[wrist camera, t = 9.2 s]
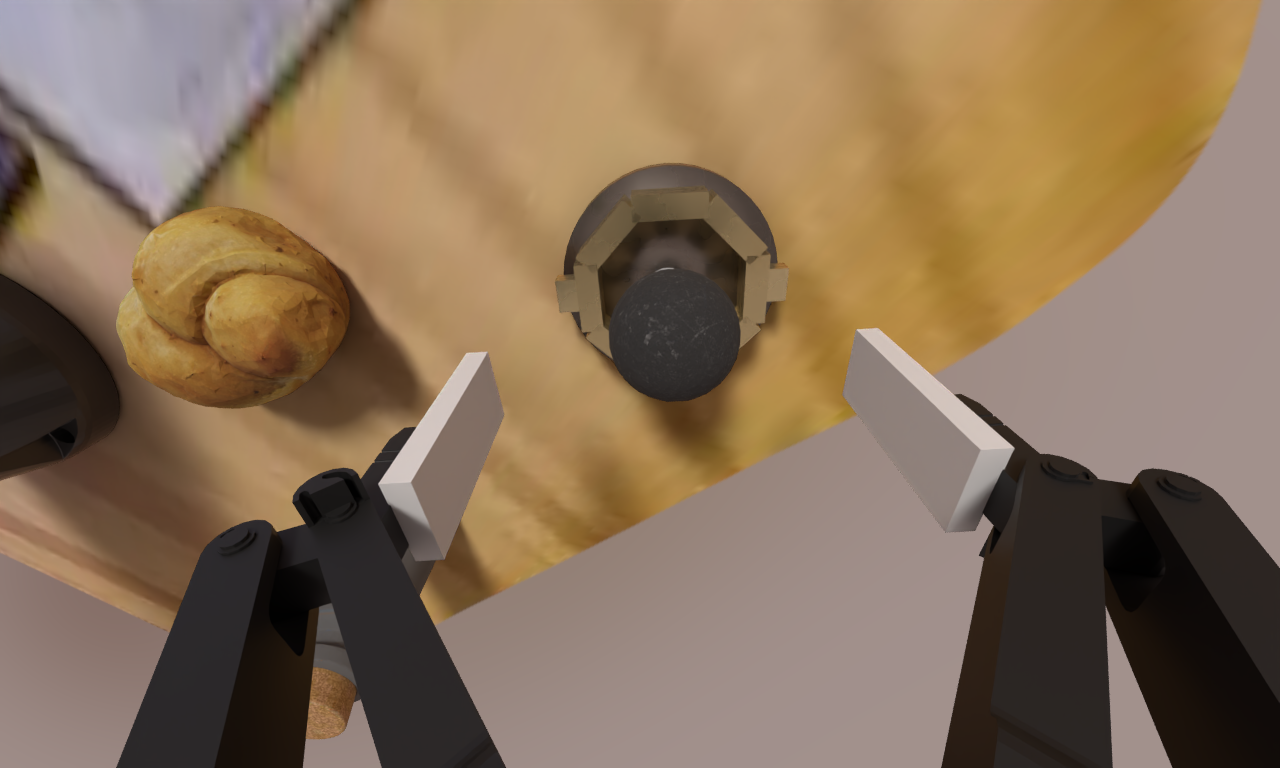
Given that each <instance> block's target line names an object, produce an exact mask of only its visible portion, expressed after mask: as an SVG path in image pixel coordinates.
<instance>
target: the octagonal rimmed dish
mask: <svg viewBox="0 0 1280 768" xmlns="http://www.w3.org/2000/svg"><path fill="white" fill-rule="evenodd" d="M662 268H674V269H684V270H691V271H694V272H697V273H700V274H702V275H704V276H706V277H707V278H709V279H710V280H712V281H714V282H715V283H716V284H717V285H718V286H719V287H720V288H721V289H722V290H723V291H724V292H725V293H726V294H727V295H728V297H729V298H730V300H731V301H732V303H733V305H734V307H735V310H736V312H737V314H738V318H739V324H740V330H741V337H740V347H739V349H740V348H741V347H742V346H743V345H744V344H746V343H747V342H748V341H749V340H750V339H751V338H752V337H753V336H754V335H756V334H757V333H758V332H759V331H760V330H761V328H760V324H761V323H765V316H766V314H767V311H768V309H769V307H770V305H771V302H772V301H785V299H786V290H787V281H788V272H789V268H788V267H787V266H786V265H785V263H777V253H776V247H775V243H774V239H773V235H772V233H771V230H770V228H769V226H768V223H767V221H766V220H765V218H764V216H763V214H762V213H761V211H760V210H759V208H758V207H757V206H756V205H755V203H754V202H753V201H752V200H751V198H750V197H748V196H747V195H746V194H745V193H744V192H743V191H742V190H741V189H740V188H739V187H737V186H736V185H735V184H733V183H732V182H730V181H729V180H727V179H726V178H724V177H723V176H721V175H719V174H717V173H715V172H713V171H711V170H708V169H705V168H701V167H698V166H695V165H688V164H682V163H664V164H657V165H650V166H647V167H643V168H640V169H636V170H634V171H632V172H630V173H627V174H625V175H623V176H621V177H620V178H618V179H617V180H615V181H613V182H612V183H610V184H609V185H608V186H607V187H606V188H604V189H603V190H602V191H601V192H600V193H599V194H598V195H597V196H596V197H595V198H594V199H593V200H592V201H591V203H590V204H589V205H588V207H587V208H586V210H585V211H584V212H583V214H582V215H581V217H580V219H579V220H578V222H577V224H576V226H575V228H574V230H573V232H572V235H571V238H570V240H569V243H568V246H567V251H566V256H565V261H564V275H558V276H557V278H556V280H555V284H556V290H557V296H558V303H559V309H560V313H561V312H571V313H572V315H573V317H574V319H575V321H576V323H577V325H578V327H579V328H580V329H581V331H582V332H583V334H584V335H585V337H586V339H587V340H589V341H590V342H591V343H592V344H593V346H595V347H596V348H597V349H598V350H599V351H600V352H601V353H603V354H604V355H606V356H607V357H608V358H610V359H611V360H613V358H612V355H611V352H610V348H609V325H610V320H611V316H612V313H613V311H614V308H615V307H616V305H617V303H618V301H619V299H620V298H621V297H622V295H623V294H624V293H625V291H626V290H627V289H628V288H629V287H630V286H631V285H632V284H634V283H635V282H636V281H638V280H639V279H641V278H642V277H644V276H646V275H648V274H651V273H654V272H656V271H658V270H660V269H662ZM613 361H614V360H613Z"/></svg>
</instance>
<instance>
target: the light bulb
mask: <svg viewBox="0 0 1280 768" xmlns="http://www.w3.org/2000/svg"><path fill="white" fill-rule="evenodd" d="M740 337H741V330H740V324H739V318H738V314H737V312H736V310H735V307H734V305H733V303H732V301H731V300H730V298H729V297H728V295H727V294H726V293H725V292H724V291H723V290H722V289H721V288H720V287H719V286H718V285H717V284H716V283H715V282H714V281H712V280H710V279H709V278H707V277H706V276H704V275H702V274H700V273H697V272H694V271H691V270H684V269H674V268H662V269H660V270H658V271H656V272H654V273H651V274H648V275H646V276H644V277H642V278H641V279H639V280H638V281H636V282H635V283H634V284H632V285H631V286H630V287H629V288H628V289H627V290H626V291H625V293H624V294H623V295H622V297H621V298H620V299H619V301H618V303H617V305H616V307H615V308H614V311H613V313H612V316H611V320H610V325H609V348H610V352H611V355H612V358H613V360H614V363H615V365H616V367H617V369H618V371H619V373H620V374H621V375H622V376H623V378H624V379H625V380H626V381H627V382H628V383H629V384H630V385H631V386H632V387H633V388H635V389H636V390H637V391H639V392H641V393H643V394H645V395H647V396H649V397H652V398H655V399H658V400H662V401H666V402H671V401H688V400H691V399H695V398H697V397H700V396H702V395H704V394H707V393H708V392H709V391H711V390H712V389H713V388H715V387H716V386H718V385H719V384H720V383H721V382H722V381H723V380H724V379H725V377H726V376H727V375H728V373H729V372H730V371H731V369H732V367H733V365H734V363H735V361H736V359H737V355H738V351H739V347H740Z"/></svg>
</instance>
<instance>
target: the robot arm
mask: <svg viewBox="0 0 1280 768" xmlns="http://www.w3.org/2000/svg"><path fill="white" fill-rule="evenodd" d="M843 396H844V398H845V399H846V400H847V402H848V403H849V404H850V406H851V407H852V408H853V410H854V411H855V412H856V414H857V415H858V416H859V418H860V419H861V420H862V422H863V423H864V424H865V426H866V427H867V428H868V430H869V431H870V432H871V434H872V435H873V436H874V438H875V439H876V440H877V442H878V443H879V444H880V446H881V447H882V448H883V450H884V451H885V452H886V454H887V455H888V456H889V458H890V459H891V460H892V462H893V463H894V465H895V466H896V467H897V468H898V470H899V471H900V473H901V474H902V475H903V477H904V478H905V479H906V480H907V482H908V483H909V485H910V486H911V487H912V489H913V490H914V491H915V493H916V494H917V495H918V496H919V498H920V499H921V501H922V502H923V503H924V505H925V506H926V507H927V509H928V510H929V511H930V513H931V514H932V515H933V517H934V518H935V519H936V521H937V522H938V523H939V524H940V526H941V527H942V528H943V530H944V531H945V532H964V531H975V530H976V528H977V526H978V524H979V522H980V519H981V517H982V515H983V514H984V515H985V516H986V517H987V518H988V520H989V521H990V522H991V523H992V524H993V525H994V526H993V528H992V530H991V532H990V534H989V536H988V538H987V540H986V542H985V544H984V546H983V548H982V550H981V552H980V554H979V556H981V557H983V558H984V561H983V566H982V571H981V576H980V581H979V586H978V591H977V596H976V601H975V605H974V610H973V615H972V620H971V625H970V630H969V635H968V640H967V644H966V649H965V654H964V659H963V664H962V669H961V674H960V679H959V683H958V688H957V694H956V698H955V703H954V708H953V713H952V718H951V723H950V727H949V733H948V737H947V742H946V747H945V752H944V757H943V762H942V767H941V768H1113V767H1112V743H1111V720H1110V699H1109V676H1108V654H1107V633H1106V632H1107V631H1106V611H1105V610H1106V609H1105V605H1106V607H1107V610H1108V612H1109V615H1110V617H1111V619H1112V622H1113V624H1114V627H1115V629H1116V632H1117V634H1118V636H1119V639H1120V641H1121V644H1122V646H1123V649H1124V651H1125V654H1126V656H1127V658H1128V661H1129V663H1130V666H1131V668H1132V671H1133V673H1134V675H1135V678H1136V680H1137V683H1138V685H1139V687H1140V690H1141V692H1142V695H1143V697H1144V700H1145V702H1146V704H1147V707H1148V709H1149V712H1150V714H1151V717H1152V719H1153V722H1154V724H1155V726H1156V729H1157V731H1158V734H1159V736H1160V739H1161V741H1162V743H1163V746H1164V748H1165V751H1166V753H1167V756H1168V758H1169V760H1170V763H1171V765H1172V768H1280V568H1279V567H1278V566H1277V564H1276V563H1275V562H1274V560H1273V559H1272V558H1271V557H1270V556H1269V554H1268V553H1267V552H1266V551H1265V549H1264V548H1263V547H1262V546H1261V544H1260V543H1259V542H1258V541H1257V539H1256V538H1255V537H1254V536H1253V534H1252V533H1251V532H1250V531H1249V530H1248V528H1247V527H1246V526H1245V525H1244V523H1243V522H1242V521H1241V520H1240V519H1239V517H1238V516H1237V515H1236V514H1235V512H1234V511H1233V510H1232V509H1231V507H1230V506H1229V505H1228V504H1227V502H1226V501H1225V500H1224V499H1223V497H1221V496H1220V495H1219V494H1218V493H1217V492H1216V491H1215V490H1214V489H1212V488H1210V487H1209V486H1207V485H1205V484H1203V483H1202V482H1200V481H1199V480H1197V479H1195V478H1192V477H1188V476H1187V475H1184V474H1182V473H1176V472H1172V471H1168V470H1162V469H1146V470H1142V471H1141V472H1140V473H1139V474H1138V475H1137V476H1136V478H1135V479H1134V481H1133V482H1132V484H1127V483H1121V482H1114V481H1107V480H1100V479H1097V477H1096V476H1095V475H1094V474H1093V473H1092V472H1091V471H1090V470H1089V469H1087V468H1086V467H1084V466H1082V465H1080V464H1079V463H1077V462H1074V461H1072V460H1069V459H1067V458H1064V457H1060V456H1055V455H1050V454H1039V453H1038V452H1037V451H1036V450H1035V449H1034V448H1032V447H1031V446H1030V445H1029V444H1028V443H1026V442H1025V441H1024V440H1023V439H1022V438H1020V437H1019V436H1018V435H1017V434H1016V433H1014V432H1013V431H1012V430H1011V429H1010V428H1008V427H1007V426H1006V425H1005V426H1004V425H1003V423H1002V422H1001V421H1000V420H999V419H998V418H997V417H995V416H993V414H992V413H991V412H989V411H988V410H987V409H986V408H985V407H983V406H982V405H981V404H979V403H978V402H976V401H974V400H972V399H970V398H968V397H966V396H964V395H962V394H956V395H953V394H952V393H951V392H950V391H949V390H948V389H947V388H945V387H944V386H943V385H942V384H941V383H940V382H939V381H937V380H936V379H935V378H934V377H933V376H932V375H931V374H930V373H928V372H927V371H926V370H925V369H924V368H923V367H922V366H920V365H919V364H918V363H917V362H916V361H915V360H914V359H912V358H911V357H910V356H909V355H908V354H907V353H906V352H904V351H903V350H902V349H901V348H900V347H899V346H898V345H896V344H895V343H894V342H893V341H892V340H891V339H890V338H888V337H887V336H886V335H885V334H884V333H883V332H882V331H880V330H879V329H878V328H873V329H856V332H855V337H854V342H853V347H852V352H851V356H850V361H849V366H848V371H847V376H846V380H845V385H844V390H843ZM118 415H119V399H118V394H117V390H116V387H115V385H114V382H113V380H112V378H111V375H110V373H109V372H108V370H107V368H106V366H105V365H104V363H103V362H102V360H101V359H100V357H99V356H98V355H97V353H96V352H95V351H94V349H93V348H92V347H91V346H90V344H89V343H88V342H87V341H86V340H85V339H84V338H83V337H82V335H81V334H80V333H79V332H78V331H77V330H76V329H75V328H74V327H73V326H72V325H70V324H69V323H68V322H67V321H66V320H65V319H64V318H63V317H62V316H60V315H59V314H58V313H57V312H56V311H54V310H53V309H52V308H51V307H49V306H48V305H47V304H45V303H44V302H43V301H41V300H40V299H39V298H37V297H36V296H34V295H33V294H31V293H30V292H29V291H27V290H25V289H24V288H22V287H21V286H19V285H18V284H16V283H14V282H12V281H11V280H9V279H7V278H6V277H4V276H2V275H0V481H1V480H4V479H7V478H10V477H14V476H17V475H20V474H23V473H27V472H30V471H33V470H36V469H40V468H43V467H46V466H49V465H53V464H56V463H59V462H61V461H64V460H66V459H68V458H70V457H73V456H74V455H76V454H78V453H79V452H81V451H83V450H84V449H86V448H88V447H89V446H91V445H93V444H94V443H96V442H98V441H99V440H101V439H103V438H104V437H105V436H107V435H108V434H109V433H110V432H111V431H112V429H113V428H114V426H115V424H116V422H117V419H118ZM503 417H504V412H503V408H502V404H501V400H500V396H499V392H498V389H497V385H496V381H495V377H494V373H493V370H492V366H491V362H490V358H489V354H488V352H476V353H466V355H465V356H464V358H463V359H462V361H461V362H460V364H459V365H458V367H457V368H456V370H455V371H454V373H453V374H452V376H451V377H450V378H449V380H448V381H447V383H446V384H445V386H444V387H443V389H442V390H441V392H440V393H439V395H438V396H437V398H436V399H435V401H434V402H433V404H432V405H431V407H430V408H429V410H428V411H427V413H426V414H425V416H424V417H423V418H422V420H421V421H420V423H419V424H418V426H417V427H409V428H404V429H403V430H401V431H400V432H399V433H397V434H396V435H395V436H393V437H392V438H391V439H390V440H389V441H388V443H387V444H386V445H385V447H384V448H383V449H382V453H380V454H379V455H378V456H377V458H376V459H375V460H374V461H375V463H372V465H371V466H370V467H369V469H368V470H367V471H366V473H365V474H364V475H363V477H362V478H361V480H360V478H359V476H358V474H357V473H356V472H355V471H354V470H353V469H348V468H339V469H332V470H329V471H326V472H323V473H320V474H318V475H317V476H315V477H313V478H311V479H309V480H308V481H306V482H305V483H304V484H303V485H301V486H300V487H299V488H298V490H297V491H296V492H295V494H294V495H293V502H292V503H293V504H294V506H295V507H296V509H297V511H298V512H299V514H300V515H301V517H302V518H303V520H304V522H305V523H306V524H304V525H300V526H297V527H293V528H290V529H286V530H283V531H279V532H276V530H275V529H274V528H273V526H272V525H271V524H270V523H269V522H267V521H266V520H253V521H249V522H244V523H241V524H239V525H237V526H234V527H232V528H230V529H228V530H226V531H225V532H223V533H221V534H220V535H218V536H217V537H216V538H215V539H214V540H212V541H211V542H210V543H209V544H208V545H207V546H206V547H205V549H204V550H203V552H202V554H201V555H200V558H199V560H198V563H197V565H196V568H195V570H194V573H193V575H192V578H191V580H190V583H189V585H188V588H187V591H186V593H185V596H184V598H183V601H182V603H181V606H180V608H179V611H178V613H177V616H176V618H175V621H174V623H173V626H172V628H171V631H170V633H169V636H168V638H167V641H166V644H165V646H164V649H163V651H162V654H161V656H160V659H159V661H158V664H157V666H156V669H155V671H154V674H153V676H152V679H151V682H150V684H149V686H148V689H147V691H146V694H145V697H144V699H143V702H142V704H141V707H140V709H139V712H138V714H137V717H136V720H135V722H134V724H133V727H132V729H131V732H130V735H129V737H128V739H127V742H126V744H125V747H124V750H123V752H122V755H121V757H120V760H119V762H118V765H117V767H116V768H303V759H304V750H305V741H306V731H307V722H308V712H309V703H310V693H311V684H312V674H313V664H314V655H315V645H316V636H317V626H318V617H319V607H321V606H324V605H327V604H330V603H332V606H333V609H334V613H335V616H336V619H337V622H338V626H339V629H340V632H341V635H342V639H343V642H344V645H345V649H346V652H347V655H348V658H349V662H350V665H351V668H352V671H353V675H354V678H355V681H356V685H357V688H358V691H359V694H360V698H361V701H362V704H363V707H364V711H365V714H366V717H367V720H368V724H369V727H370V730H371V734H372V737H373V740H374V743H375V747H376V750H377V753H378V756H379V760H380V763H381V766H382V768H506V767H505V764H504V762H503V761H502V759H501V757H500V755H499V753H498V751H497V749H496V747H495V745H494V743H493V741H492V739H491V737H490V735H489V733H488V731H487V729H486V727H485V725H484V723H483V721H482V719H481V717H480V715H479V713H478V711H477V709H476V707H475V705H474V703H473V701H472V699H471V697H470V695H469V693H468V691H467V689H466V687H465V685H464V683H463V681H462V679H461V677H460V675H459V673H458V671H457V669H456V667H455V665H454V663H453V661H452V659H451V657H450V655H449V653H448V651H447V649H446V647H445V645H444V643H443V642H442V640H441V637H440V636H439V634H438V632H437V629H436V627H435V625H434V624H433V622H432V620H431V618H430V616H429V614H428V612H427V610H426V608H425V606H424V604H423V602H422V600H421V598H420V596H419V594H418V592H417V590H416V588H415V586H414V584H413V582H412V580H411V578H410V576H409V574H408V572H407V570H406V568H405V566H404V564H403V562H402V558H403V556H404V554H405V552H406V551H407V549H408V547H409V549H410V551H411V553H412V555H413V557H414V559H415V561H429V560H444V559H445V557H446V554H447V552H448V550H449V547H450V545H451V542H452V540H453V538H454V535H455V533H456V530H457V528H458V525H459V523H460V521H461V518H462V516H463V513H464V511H465V509H466V506H467V504H468V501H469V499H470V496H471V494H472V492H473V489H474V487H475V484H476V482H477V480H478V477H479V475H480V472H481V470H482V467H483V465H484V463H485V460H486V458H487V455H488V453H489V451H490V448H491V446H492V443H493V441H494V439H495V436H496V434H497V431H498V429H499V426H500V424H501V422H502V419H503Z"/></svg>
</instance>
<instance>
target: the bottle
mask: <svg viewBox="0 0 1280 768" xmlns="http://www.w3.org/2000/svg"><path fill="white" fill-rule="evenodd" d="M435 561H436V560H429V561H415V559H414V557H413V555H412V553H411V551H410V549H409V547H408V549H407V551H406V552H405V554H404V556H403V558H402V562H403V564H404V566H405V568H406V570H407V572H408V574H409V576H410V578H411V580H412V582H413V584H414V586H415V588H416V590H417V592H418V594H419V595H420V593H421V591H422V589H423V587H424V585H425V583H426V580H427V578H428V576H429V574H430V572H431V570H432V567H433V565H434V563H435ZM360 699H361V698H360V694H359V691H358V688H357V685H356V681H355V678H354V675H353V671H352V668H351V665H350V662H349V658H348V655H347V652H346V649H345V645H344V642H343V639H342V635H341V632H340V629H339V626H338V622H337V619H336V616H335V613H334V609H333V606H332V603H330V604H327V605H324V606H321V607H319V617H318V626H317V636H316V645H315V655H314V664H313V674H312V684H311V693H310V703H309V712H308V722H307V731H306V739H326V738H331V737H335V736H338V735H339V734H341V733H342V732H343V731H344V730H345V729H346V726H347V723H348V719H349V716H350V712H351V709H352V706H353V702H356V701H358V700H360Z"/></svg>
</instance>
